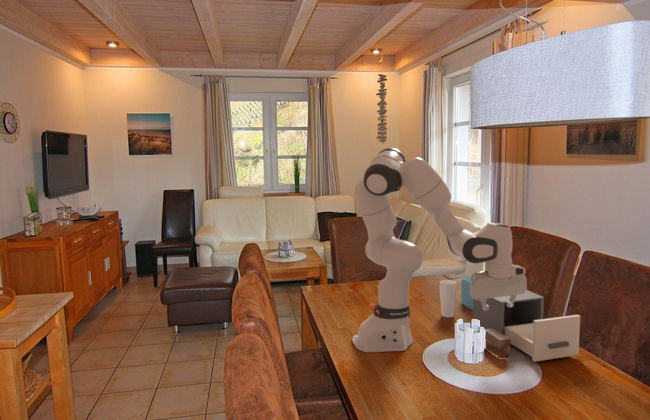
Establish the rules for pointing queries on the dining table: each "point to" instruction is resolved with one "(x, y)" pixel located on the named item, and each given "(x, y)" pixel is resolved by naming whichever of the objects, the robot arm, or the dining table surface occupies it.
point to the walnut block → (497, 343)
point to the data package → (466, 293)
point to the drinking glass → (447, 297)
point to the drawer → (547, 337)
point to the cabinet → (509, 311)
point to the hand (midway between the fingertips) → (497, 308)
